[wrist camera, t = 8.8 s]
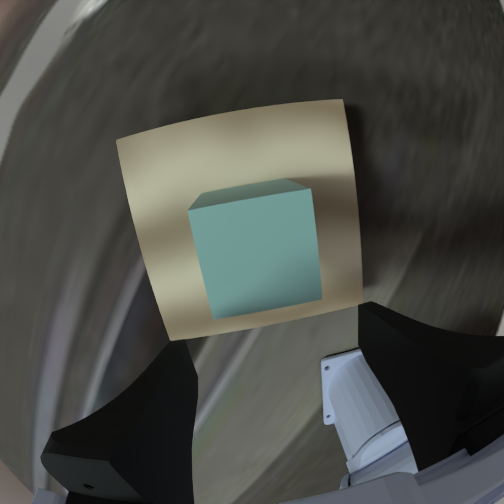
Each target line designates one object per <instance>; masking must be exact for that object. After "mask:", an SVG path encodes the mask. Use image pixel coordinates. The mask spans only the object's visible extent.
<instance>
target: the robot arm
mask: <svg viewBox="0 0 504 504" xmlns="http://www.w3.org/2000/svg"><path fill="white" fill-rule="evenodd" d="M358 345H359V347H360V349H356V350H353V351H349V352H345V353H342V354H338V355H334V356H330V357H326V358H324V359H322V361H321V375H322V395H323V421H324V424H326V425H328V424H332V423H334V424H335V427H336V429H337V432H338V435H339V438H340V440H341V443H342V446H343V449H344V451H345V454H346V457H347V459H348V461H347V462H346V464H347V467H348V469H349V472H350V473H349V474H346V475H345V476H344V477H343V478H342V480H341V485H340V489H339V490H335V491H331V492H328V493H324V494H319V495H315V496H311V497H306V498H301V499H296V500H291V501H285V502H281V503H277V504H495V503H496V502H497V501H499V500H500V499H501V498H503V497H504V336H478V335H469V334H463V333H457V332H452V331H447V330H444V329H440V328H436V327H433V326H430V325H427V324H424V323H421V322H419V321H416V320H414V319H411V318H409V317H406V316H404V315H402V314H399V313H397V312H395V311H393V310H391V309H388V308H386V307H384V306H382V305H380V304H377V303H375V302H372V301H371V302H367V303H363V304H359V305H358ZM326 366H328V367H327V368H325V367H326ZM197 400H198V375H197V373H196V370H195V367H194V365H193V362H192V359H191V356H190V354H189V351H188V348H187V345H186V342H185V339H181V340H173V341H170V342H169V343H168V344H167V345H166V346H165V347H164V349H163V350H162V351H161V352H160V353H159V355H158V356H157V357H156V358H155V359H154V360H153V362H152V363H151V364H150V365H149V366H148V367H147V368H146V370H145V371H144V372H143V373H142V374H141V375H140V376H139V377H138V378H137V379H136V380H135V381H134V382H133V383H132V384H131V385H130V386H129V387H128V388H127V389H126V390H124V391H123V392H122V393H121V394H120V395H118V396H117V397H116V398H115V399H113V400H112V401H111V402H109V403H108V404H106V405H105V406H103V407H102V408H101V409H99V410H98V411H96V412H94V413H93V414H91V415H89V416H88V417H86V418H84V419H82V420H80V421H78V422H76V423H74V424H72V425H69V426H67V427H64V428H62V429H59V430H57V431H54V432H52V433H51V436H50V438H49V440H48V442H47V444H46V446H45V448H44V450H43V452H42V455H41V462H42V464H43V466H44V467H45V469H46V470H47V471H48V472H49V473H50V474H51V475H52V476H53V477H54V478H55V479H56V480H57V481H58V482H59V483H60V484H61V485H62V486H64V487H65V488H66V489H67V490H68V491H69V493H68V497H67V498H66V497H65V496H63V495H61V494H58V493H55V492H51V491H48V490H45V489H41V488H37V490H36V492H35V495H34V498H33V500H32V503H31V504H194V495H193V481H192V438H193V430H194V423H195V415H196V408H197Z"/></svg>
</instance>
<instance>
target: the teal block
mask: <svg viewBox="0 0 504 504" xmlns="http://www.w3.org/2000/svg"><path fill="white" fill-rule="evenodd" d="M187 211H188V216H189V220H190V225H191V230H192V234H193V238H194V243H195V247H196V251H197V256H198V260H199V264H200V268H201V273H202V277H203V281H204V285H205V289H206V293H207V297H208V301H209V304H210V308H211V312H212V316H213V320H216V319H222V318H228V317H234V316H240V315H245V314H251V313H257V312H262V311H267V310H273V309H278V308H283V307H288V306H293V305H298V304H303V303H308V302H312V301H317V300H322V286H321V274H320V263H319V253H318V243H317V234H316V225H315V217H314V208H313V200H312V193H311V189H310V188H308V187H306V186H303V185H301V184H298V183H296V182H293V181H290V180H288V179H285V178H283V179H277V180H271V181H265V182H259V183H253V184H247V185H241V186H236V187H230V188H225V189H220V190H215V191H209V192H204V193H201V194H200V195H199V197H198V198H197V199H196V200H195V202H194V203H193V204H192V205H191V207H190V208H189V209H188V210H187Z"/></svg>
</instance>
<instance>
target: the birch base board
mask: <svg viewBox="0 0 504 504" xmlns="http://www.w3.org/2000/svg"><path fill="white" fill-rule="evenodd" d="M116 143H117V148H118V154H119V159H120V164H121V169H122V174H123V178H124V183H125V188H126V192H127V197H128V201H129V205H130V209H131V213H132V217H133V221H134V225H135V229H136V233H137V237H138V240H139V244H140V248H141V251H142V255H143V258H144V262H145V265H146V269H147V272H148V275H149V279H150V282H151V285H152V288H153V291H154V294H155V297H156V301H157V304H158V307H159V310H160V313H161V315H162V318H163V321H164V324H165V327H166V330H167V333H168V335H169V338H170V341H173V340H181V339H189V338H196V337H203V336H209V335H215V334H222V333H228V332H233V331H239V330H245V329H250V328H256V327H261V326H266V325H271V324H276V323H281V322H286V321H291V320H296V319H300V318H305V317H310V316H314V315H319V314H323V313H327V312H332V311H336V310H340V309H344V308H348V307H352V306H356V305H359V304H363V282H362V257H361V239H360V225H359V213H358V202H357V193H356V183H355V175H354V167H353V159H352V152H351V145H350V139H349V133H348V126H347V121H346V115H345V109H344V104H343V99H337V100H321V101H309V102H298V103H289V104H280V105H272V106H265V107H258V108H251V109H245V110H239V111H233V112H227V113H222V114H217V115H212V116H207V117H202V118H197V119H193V120H188V121H184V122H180V123H176V124H171V125H167V126H164V127H160V128H156V129H152V130H149V131H145V132H141V133H138V134H135V135H131V136H128V137H125V138H121V139H118V140H116ZM283 178H285V179H288V180H290V181H293V182H296V183H298V184H301V185H303V186H306V187H308V188H310V189H311V193H312V200H313V208H314V217H315V225H316V234H317V243H318V253H319V263H320V274H321V286H322V300H317V301H312V302H308V303H303V304H298V305H293V306H288V307H283V308H278V309H273V310H267V311H262V312H257V313H251V314H245V315H240V316H234V317H228V318H222V319H216V320H213V316H212V312H211V308H210V304H209V301H208V297H207V293H206V289H205V285H204V281H203V277H202V273H201V268H200V264H199V260H198V256H197V251H196V247H195V243H194V238H193V234H192V230H191V225H190V220H189V216H188V211H187V210H188V209H189V208H190V207H191V205H192V204H193V203H194V202H195V200H196V199H197V198H198V197H199V195H200V194H201V193H204V192H209V191H215V190H220V189H225V188H230V187H236V186H241V185H247V184H253V183H259V182H265V181H271V180H277V179H283Z"/></svg>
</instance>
